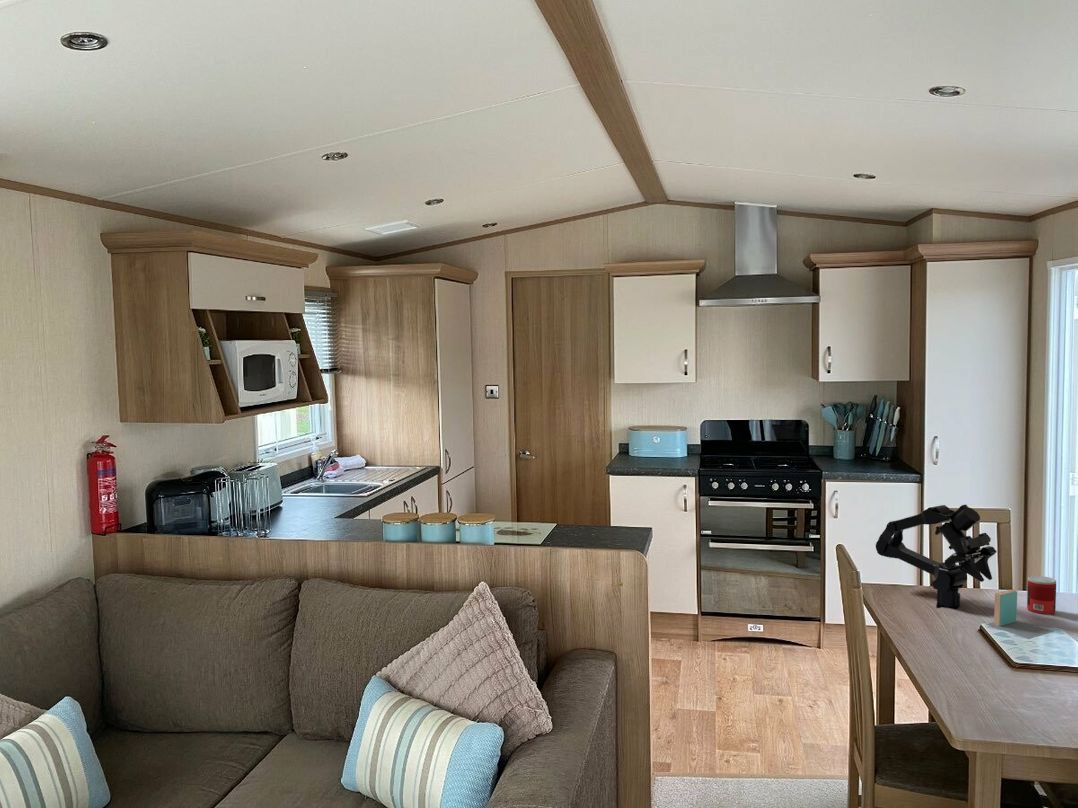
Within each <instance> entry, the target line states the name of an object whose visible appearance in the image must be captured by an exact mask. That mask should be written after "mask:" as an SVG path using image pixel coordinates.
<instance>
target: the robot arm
mask: <svg viewBox="0 0 1078 808" xmlns="http://www.w3.org/2000/svg"><path fill="white" fill-rule="evenodd" d="M980 520H981V516H980V514H979V512H978V511H975V509H973V508H971V507H969V506H968V505H967V504H962V505H960V506H959V507H958V509H957V510H953V509H950V508H949V506H946V505H945V504H942V505H941V504H940V505H936V506H931V507H928V508H926V509H924V510H923V511H921V512H920V513H918V514H915V515H912V516H908V517H904V518H901V519H897V520H890V521H889V522H888V523H887V524H886V526H885V529H884V530H883V532H881V534H880V535H879V537H878V539H877V541H876V543H875V550H876V552H877V554H878V555H879V556H882V557H886V558H889V559H898V560H900V561H903V562H905V563H906V564H908V565H911V566H913V567H915V568H918V569H919V570H921V571H924V572H926V573H928V574H930V575H932V576H933V577H934V578H935V579H934V580H933V581H932V582H931V584H932V588H933V589H934V590H936V603H935V604H936V606H935V607H936V608H937V609H941V608H943V609H951V610H959V608H960V607H961V593H960V592H959V589H963V587H964V585H965V584H966V583H967V580H968V575H969V576H971V577H972V578H974V579H976V580H977V581H979V582H981V583H983V582H984V581H985V579H984V577H985V578H986V579H987V580H988V581H991V580H992V579H993V576H992V572H991V570H990V567H989V559H990V558H992V557H993V556H994V555H995V554H996V553H997V550H996V548H994V547H993V546H991V544H990V542H991V540H992V539H991V537H990V536H989V535H988V533H987V532H982V533H978V535H977V536H976V537H972V536H970V535H966V534H965V533H964V532H967V531H969V530H970V529H971V528H972V527H973V526H975V525H976V524H978V522H979V521H980ZM937 524H941V525H939V526H938V525H937ZM923 525H937V526H936V527H935V531H934V535H935V536H939V535H942V536H943V537H944V539H945V540H946V542H947V543H948V544H949V546H948V549H949V550H952V551H954V552H953V553H952V554H951V555H949V556H948V557H947V558H946V559H945V560H944V561H943V562H938V561H936V560H934V559H932V558H929V557H927V556H926V555H924V554H921V553H919V552H917V551H914V550H912V549H910V548H908V547H907V546H906V545H905V544H904V543H903V540H904V534H903V532H904V530H909V529H912V528H916V527H919V526H923ZM981 547H982V548H981ZM967 574H968V575H967Z"/></svg>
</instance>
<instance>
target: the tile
mask: <svg viewBox="0 0 1078 808" xmlns="http://www.w3.org/2000/svg"><path fill="white" fill-rule="evenodd" d="M1017 612H1018V591H1017V590H1015V589H1012V588H1011V589H1008V590H1003V591H999V592H995V593H994V615H993V619H994V621H993V622H994V625H996V626H1003V625H1006V624H1010V623H1014V622H1016V620H1017V614H1018V613H1017Z"/></svg>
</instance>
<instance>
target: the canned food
mask: <svg viewBox="0 0 1078 808" xmlns="http://www.w3.org/2000/svg"><path fill="white" fill-rule="evenodd" d="M1026 588H1027V590H1026V593H1027V594H1026V595H1027V597H1026V608H1027V610H1028V611H1029V612H1031V613H1034V614H1038V615H1039V614H1040V615H1051V616H1054V615H1055V614H1056V605H1057V580H1056V579H1055V578H1053V577H1049V576H1044V575H1031V576H1028V578H1027V587H1026Z"/></svg>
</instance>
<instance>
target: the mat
mask: <svg viewBox="0 0 1078 808" xmlns="http://www.w3.org/2000/svg"><path fill="white" fill-rule="evenodd" d="M985 625H986V626H989V627H991V628H995V629H997V630H1001V631H1003V632H1007V633H1010V634H1013V635H1016V636H1020V637H1023V638H1026V639H1032V638H1035V637H1040V636H1044V635H1046V634H1049V633H1053V632H1054V630H1051V629H1047V628H1044V627H1041V626H1038V625H1035V624H1031V623H1028V622H1025V621H1021V620H1018V619H1016V622H1014V623H1010V624H1006V625H1003V626H996V625H994V621H993V622H990V623H989V622H988V623H986V624H985Z"/></svg>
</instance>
